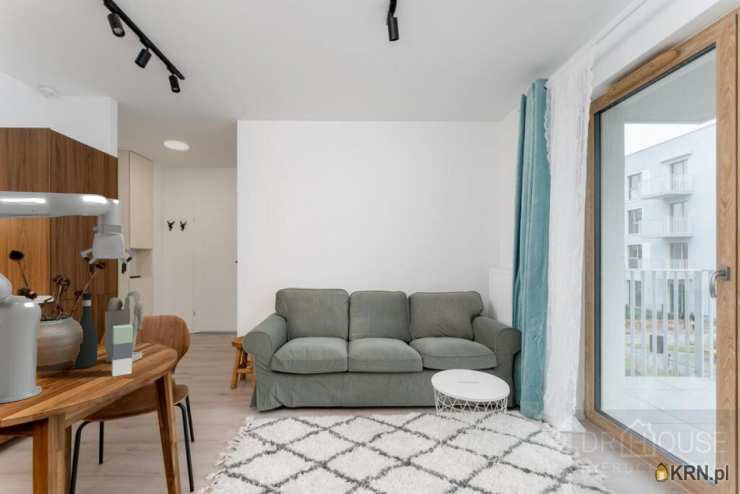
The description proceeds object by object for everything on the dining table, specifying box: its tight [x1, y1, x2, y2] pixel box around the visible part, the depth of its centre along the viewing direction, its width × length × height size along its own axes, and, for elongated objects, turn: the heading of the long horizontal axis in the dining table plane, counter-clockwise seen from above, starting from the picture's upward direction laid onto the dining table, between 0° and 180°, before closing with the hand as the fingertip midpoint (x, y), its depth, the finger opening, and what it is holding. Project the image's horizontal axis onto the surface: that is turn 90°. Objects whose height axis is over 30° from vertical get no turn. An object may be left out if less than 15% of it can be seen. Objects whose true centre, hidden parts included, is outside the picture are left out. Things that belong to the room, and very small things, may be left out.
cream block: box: [111, 358, 133, 377], centre depth 142 cm, size 6×6×6 cm
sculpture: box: [104, 290, 144, 363], centre depth 159 cm, size 15×8×30 cm, turn 84°
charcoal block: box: [112, 342, 133, 360], centre depth 142 cm, size 6×6×6 cm
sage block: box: [112, 324, 133, 344], centre depth 142 cm, size 6×6×6 cm
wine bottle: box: [72, 292, 99, 370], centre depth 149 cm, size 8×8×30 cm
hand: (108, 273), depth 143 cm, fingers open, 9 cm apart
